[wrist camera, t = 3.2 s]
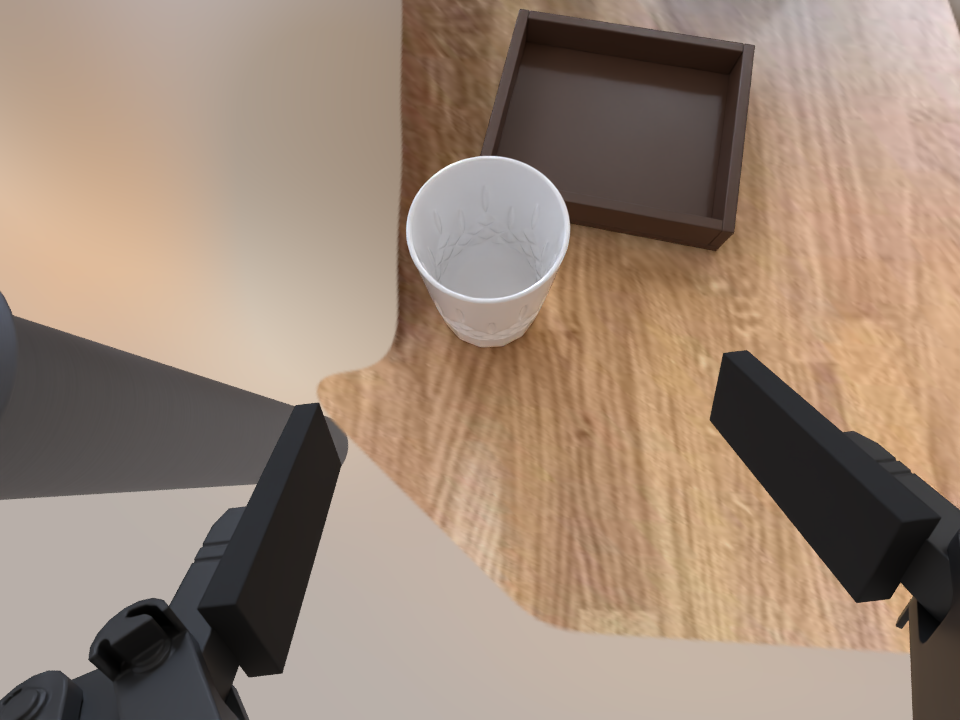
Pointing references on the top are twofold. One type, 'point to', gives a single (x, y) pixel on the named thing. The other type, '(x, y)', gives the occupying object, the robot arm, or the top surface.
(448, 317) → the white cup
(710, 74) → the serving tray
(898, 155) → the top surface
